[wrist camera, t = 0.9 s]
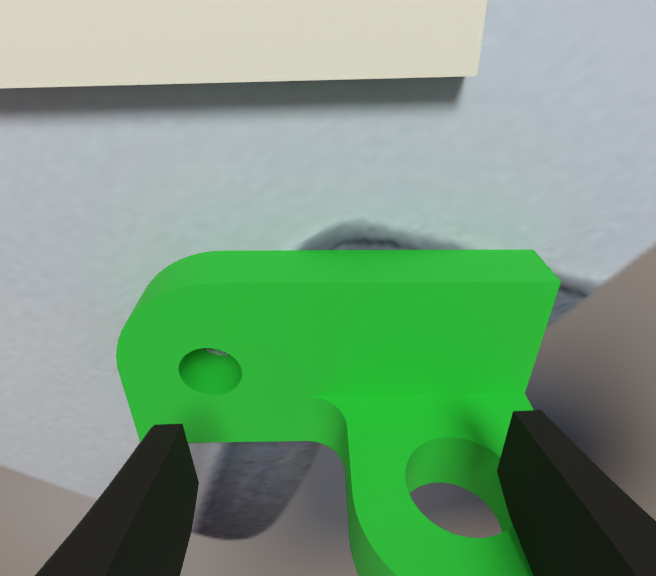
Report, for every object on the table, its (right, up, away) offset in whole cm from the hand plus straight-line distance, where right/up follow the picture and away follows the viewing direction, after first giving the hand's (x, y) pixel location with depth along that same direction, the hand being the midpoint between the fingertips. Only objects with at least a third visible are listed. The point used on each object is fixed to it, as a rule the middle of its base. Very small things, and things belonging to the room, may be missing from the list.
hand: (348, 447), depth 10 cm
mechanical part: (0, +2, +5) cm, 5 cm away
